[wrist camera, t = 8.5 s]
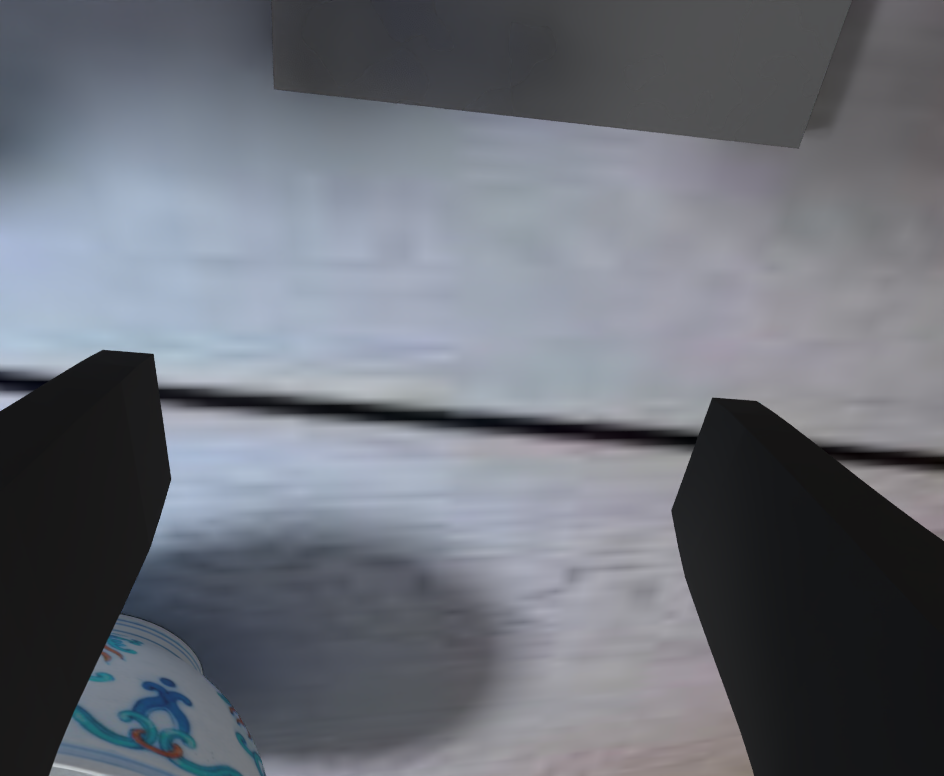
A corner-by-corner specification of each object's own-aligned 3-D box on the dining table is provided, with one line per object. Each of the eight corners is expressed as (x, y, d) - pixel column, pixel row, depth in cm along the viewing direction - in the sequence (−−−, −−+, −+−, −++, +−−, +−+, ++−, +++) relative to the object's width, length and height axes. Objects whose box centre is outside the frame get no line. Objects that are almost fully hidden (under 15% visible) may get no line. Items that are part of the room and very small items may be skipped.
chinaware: (255, 796, 35) (214, 1004, 28) (-105, 732, 31) (-247, 956, 24) (363, 593, 27) (340, 813, 21) (-97, 474, 23) (-300, 700, 17)
